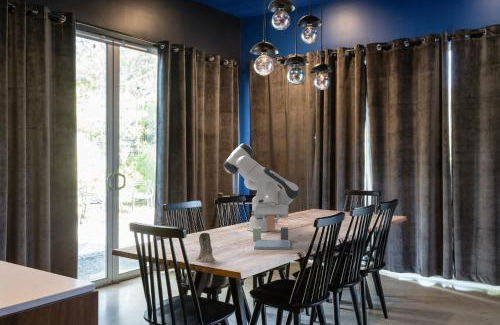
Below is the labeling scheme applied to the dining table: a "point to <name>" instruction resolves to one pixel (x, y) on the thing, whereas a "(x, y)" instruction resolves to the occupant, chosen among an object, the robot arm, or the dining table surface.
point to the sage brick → (256, 233)
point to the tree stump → (205, 248)
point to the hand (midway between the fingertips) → (270, 222)
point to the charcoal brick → (284, 233)
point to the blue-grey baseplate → (272, 244)
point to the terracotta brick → (270, 223)
